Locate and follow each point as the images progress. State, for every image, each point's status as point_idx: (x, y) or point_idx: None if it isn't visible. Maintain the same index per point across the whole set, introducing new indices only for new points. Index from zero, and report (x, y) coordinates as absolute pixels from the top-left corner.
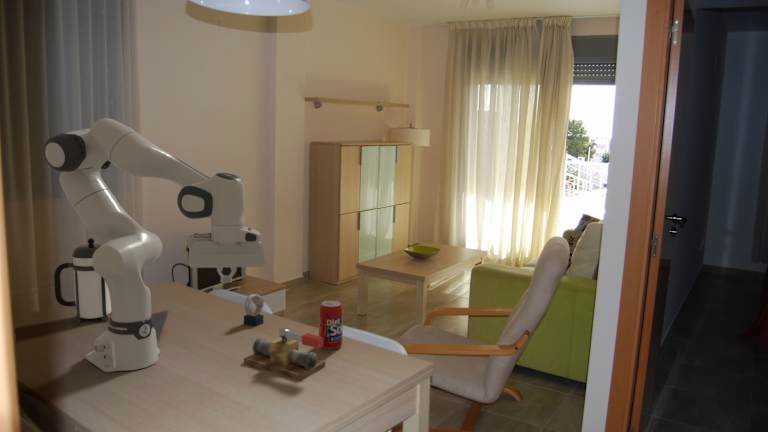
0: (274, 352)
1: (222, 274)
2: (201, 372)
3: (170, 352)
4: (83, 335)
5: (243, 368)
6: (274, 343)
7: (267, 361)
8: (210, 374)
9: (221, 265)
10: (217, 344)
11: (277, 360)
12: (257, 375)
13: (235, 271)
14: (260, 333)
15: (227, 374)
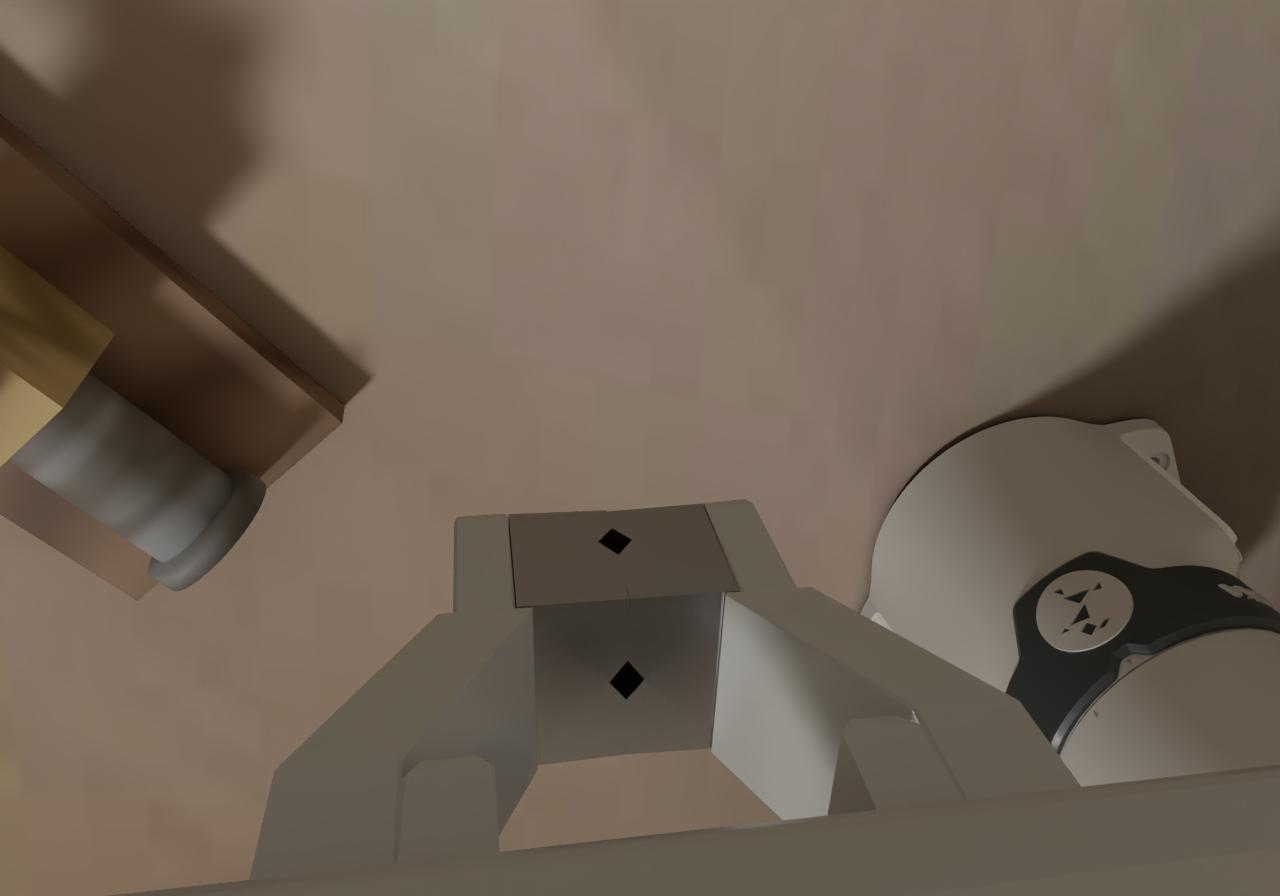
0: (46, 335)
1: (760, 713)
2: (646, 309)
3: None
4: None
5: (346, 312)
6: (15, 372)
7: (140, 327)
8: (588, 262)
9: (1045, 862)
10: None
11: (36, 287)
12: (228, 157)
13: (315, 756)
14: (235, 833)
15: (468, 233)
